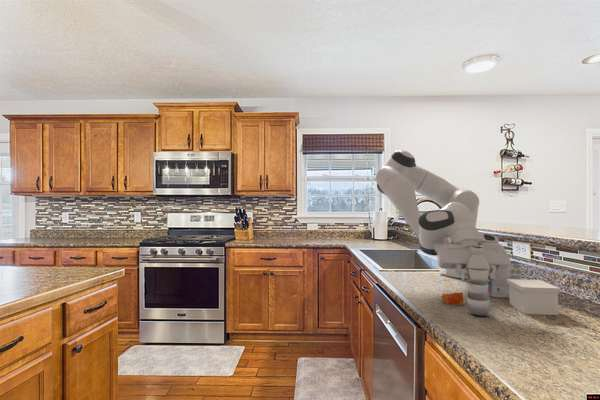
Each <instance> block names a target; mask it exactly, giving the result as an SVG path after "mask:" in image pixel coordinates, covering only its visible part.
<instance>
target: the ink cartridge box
mask: <svg viewBox="0 0 600 400" xmlns="http://www.w3.org/2000/svg"><path fill="white" fill-rule="evenodd" d="M522 271H523V270H522V263H521V262H519V261H517V260H511V263H510V266H509V267H508V268H507V269H506V270H495V273H494V275H495V277H496V279H495V281H488V292H489V297H492V298H508V299H509V284H508V283H507V279H520V280H523V274H522V273H523V272H522ZM489 273H491V272H489Z"/></svg>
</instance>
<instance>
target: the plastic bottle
mask: <svg viewBox="0 0 600 400" xmlns="http://www.w3.org/2000/svg"><path fill="white" fill-rule="evenodd" d="M470 253H471V256H470V257H469V258H468V259H467V261H466V271H467V273H468V276H469V279H468V281H467V282H468V283H467V297H466V303H465V305H466V310H467V311H468V313H470V314H471V315H475V316H481V317H482V316H484V317H485V316H489V315H490V313H491V311H492V310H491V309H492V307H491V306H492V305H491V300H490V295H489V292H488V278H489V269H490V265H489V262H488V261H487V259H486V258H485V257H484V255H483V254H485V253H484V247H479V246H471V247H470Z"/></svg>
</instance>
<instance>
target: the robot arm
mask: <svg viewBox="0 0 600 400" xmlns="http://www.w3.org/2000/svg"><path fill="white" fill-rule="evenodd" d="M375 180H376V183H377V184H376V187H377V191H378V192H380V193H381V194H383V195H385V196H386V197H387V199H388V200H389V201H390V203H392V205H393V206H394V207H395V208H396V210H397V211H398V212H399V214H400V215H401V216H402V218H403V220H404V221H405V222H406V224H407V225H408V227H409V228H410V229H411V231H412V232H413V234H414V235H415V237H416V238H417V240H418V241H417V242H418V246H419V249H420V250H421V251H422V252H423V253H424V254H426V255H429V256H437V257H436V259H437V265H438V270H439V275H441V276H447V277H452V278H457V279H461V281H467V282H468V279H469V276H468V273H467V271H466V261H467V259H468V258H469V257H470V256H471V253H470V247H471V246H479V247H484V253H485V254H483V255H484V257H485V258H486V259H487V261H488V262H489V265H490V269H489V272H491V273H489V278H488V281H495V279H496V277H495V275H494V273H495V270H506V269H507V268H508V267H509V266H510V263H511V261H512V260H511V258H510V256H509V254H508V252H507V250H506V249H505V247H504V246H503V245H502V244H500V243H499V242H500V239H499V237H498V236H496V235H492V234H488V233H484V232H481V231H479V230H478V229H477V220H478V211H479V206H480V198H479V196H478V195H477V194H476V193H475V192H474V191H472V190H470V189H466V188H463V189H461V188H459V187H456V186H455V185H453V184H452V183H450V182H449V181H447V180H446V179H445V178H442V177H441V176H438V175H436V174H435V173H433V172H431V171H430V170H427V169H425V168H423V167H420V166H418V165H417V164H416V158H415V157H414V155H413V154H411V153H410V152H409V151H408V150H403V149H398V150H395V151H394V152H393V153H392V154H391V155H390V158H389V160H388V161H387V162H386V164H385V165H384V166H383V167H381V168H379V170H378V171H377V172H376V175H375ZM417 193H418V194H420V195H421V196H424V197H425V198H427V199H429V200H431V201H433V202H434V203H435V204H437V205H439V206H441V207H442V208H439V209H436V210H435V209H434V210H427V211H426V212H423V213H422V214H421V212H420V209H419V206H418V203H417V195H416V194H417Z"/></svg>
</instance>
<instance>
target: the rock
mask: <svg viewBox="0 0 600 400" xmlns="http://www.w3.org/2000/svg"><path fill="white" fill-rule="evenodd" d="M440 297H441V299H442V301H443V303H445V304H447V305H459V306H462V305H464V302H465V301H464V293H463V292H452V293H441V295H440Z"/></svg>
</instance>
